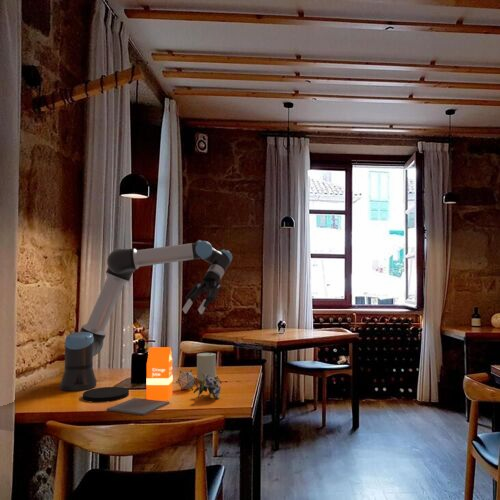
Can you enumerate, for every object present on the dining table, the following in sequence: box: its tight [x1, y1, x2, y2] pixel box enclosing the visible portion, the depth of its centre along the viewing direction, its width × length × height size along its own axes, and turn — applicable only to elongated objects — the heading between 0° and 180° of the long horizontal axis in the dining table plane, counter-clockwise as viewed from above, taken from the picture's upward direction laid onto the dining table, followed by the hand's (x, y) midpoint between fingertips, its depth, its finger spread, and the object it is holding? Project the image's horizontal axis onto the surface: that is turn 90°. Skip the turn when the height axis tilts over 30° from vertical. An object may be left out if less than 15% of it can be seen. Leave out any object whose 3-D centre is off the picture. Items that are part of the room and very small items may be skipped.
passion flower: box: [193, 373, 223, 400], centre depth 177 cm, size 11×11×12 cm
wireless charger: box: [82, 386, 130, 403], centre depth 181 cm, size 18×18×2 cm
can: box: [196, 352, 217, 382], centre depth 212 cm, size 9×9×12 cm
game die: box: [175, 369, 197, 392], centre depth 191 cm, size 9×8×10 cm
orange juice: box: [145, 346, 173, 402], centre depth 178 cm, size 8×9×20 cm
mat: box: [106, 397, 170, 416], centre depth 165 cm, size 16×16×1 cm
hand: (191, 311), depth 198 cm, fingers open, 8 cm apart
